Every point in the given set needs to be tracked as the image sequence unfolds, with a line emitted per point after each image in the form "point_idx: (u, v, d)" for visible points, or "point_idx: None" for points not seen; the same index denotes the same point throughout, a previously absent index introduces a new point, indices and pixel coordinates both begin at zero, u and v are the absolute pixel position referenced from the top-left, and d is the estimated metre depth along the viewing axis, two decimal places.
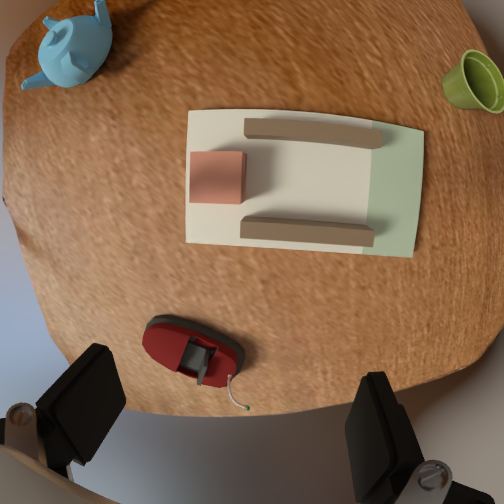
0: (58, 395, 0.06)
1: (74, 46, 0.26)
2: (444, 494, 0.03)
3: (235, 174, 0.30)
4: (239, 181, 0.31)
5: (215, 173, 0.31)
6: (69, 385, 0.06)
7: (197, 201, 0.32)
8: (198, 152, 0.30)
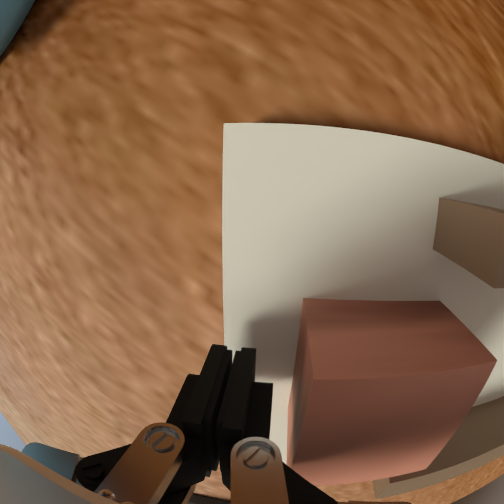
0: (206, 405, 0.07)
1: None
2: (281, 465, 0.05)
3: (450, 423, 0.06)
4: (450, 434, 0.06)
5: (397, 432, 0.06)
6: (211, 392, 0.07)
7: None
8: (353, 382, 0.06)
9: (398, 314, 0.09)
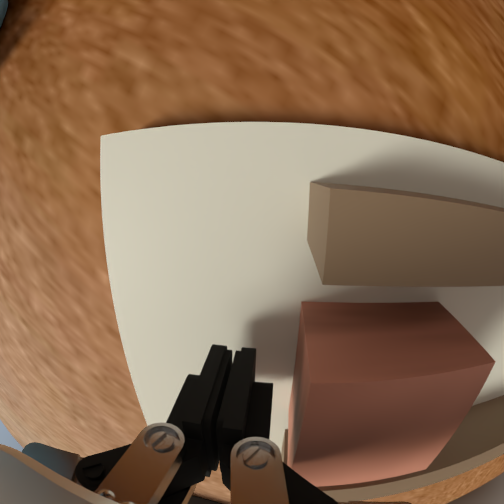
0: (206, 405, 0.07)
1: None
2: (281, 465, 0.05)
3: (448, 424, 0.06)
4: (450, 434, 0.06)
5: (395, 433, 0.06)
6: (211, 392, 0.07)
7: (313, 484, 0.07)
8: (349, 386, 0.06)
9: (396, 316, 0.09)
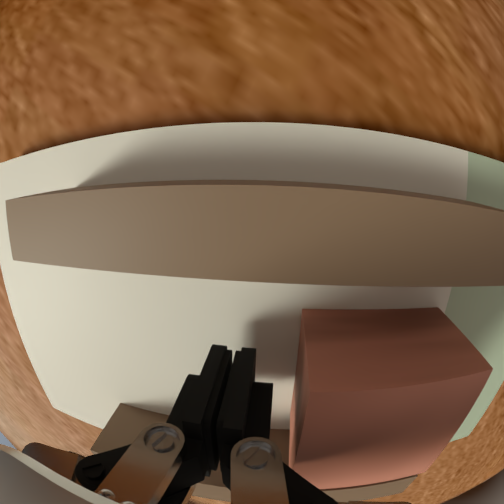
0: (206, 405, 0.07)
1: None
2: (282, 465, 0.05)
3: (447, 429, 0.06)
4: (448, 439, 0.06)
5: (394, 439, 0.06)
6: (211, 392, 0.07)
7: None
8: (348, 394, 0.06)
9: (396, 323, 0.09)
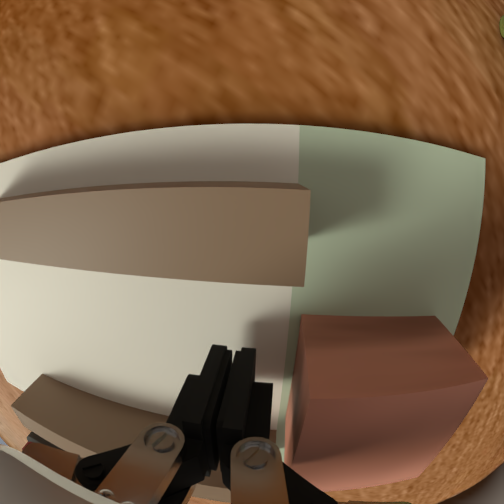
0: (206, 405, 0.07)
1: None
2: (281, 465, 0.05)
3: (441, 436, 0.06)
4: (442, 445, 0.06)
5: (389, 444, 0.06)
6: (211, 392, 0.07)
7: None
8: (347, 401, 0.06)
9: (393, 331, 0.09)
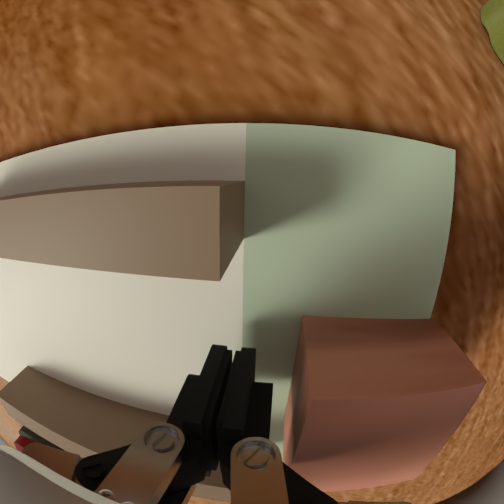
0: (206, 405, 0.07)
1: None
2: (281, 465, 0.05)
3: (438, 438, 0.06)
4: (439, 447, 0.07)
5: (388, 446, 0.07)
6: (211, 392, 0.07)
7: None
8: (348, 402, 0.06)
9: (394, 333, 0.09)
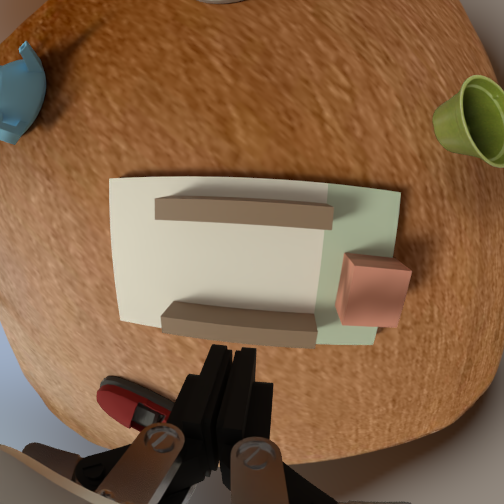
0: (206, 405, 0.07)
1: (2, 103, 0.21)
2: (281, 465, 0.05)
3: (399, 296, 0.24)
4: (402, 304, 0.24)
5: (379, 293, 0.24)
6: (211, 392, 0.07)
7: (352, 324, 0.25)
8: (364, 267, 0.24)
9: (377, 258, 0.27)
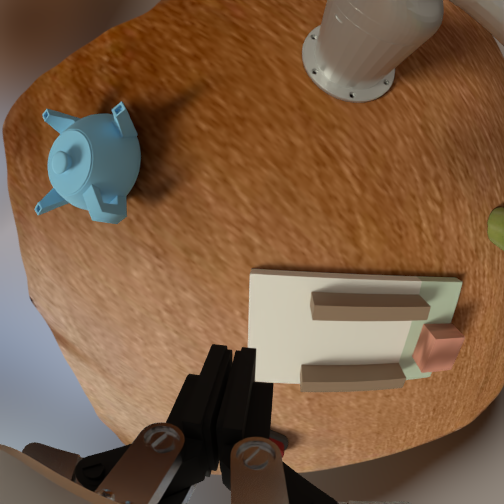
0: (206, 405, 0.07)
1: (97, 178, 0.28)
2: (281, 465, 0.05)
3: (455, 352, 0.31)
4: (456, 356, 0.31)
5: (445, 352, 0.31)
6: (211, 392, 0.07)
7: (427, 371, 0.32)
8: (440, 339, 0.31)
9: (443, 327, 0.34)
